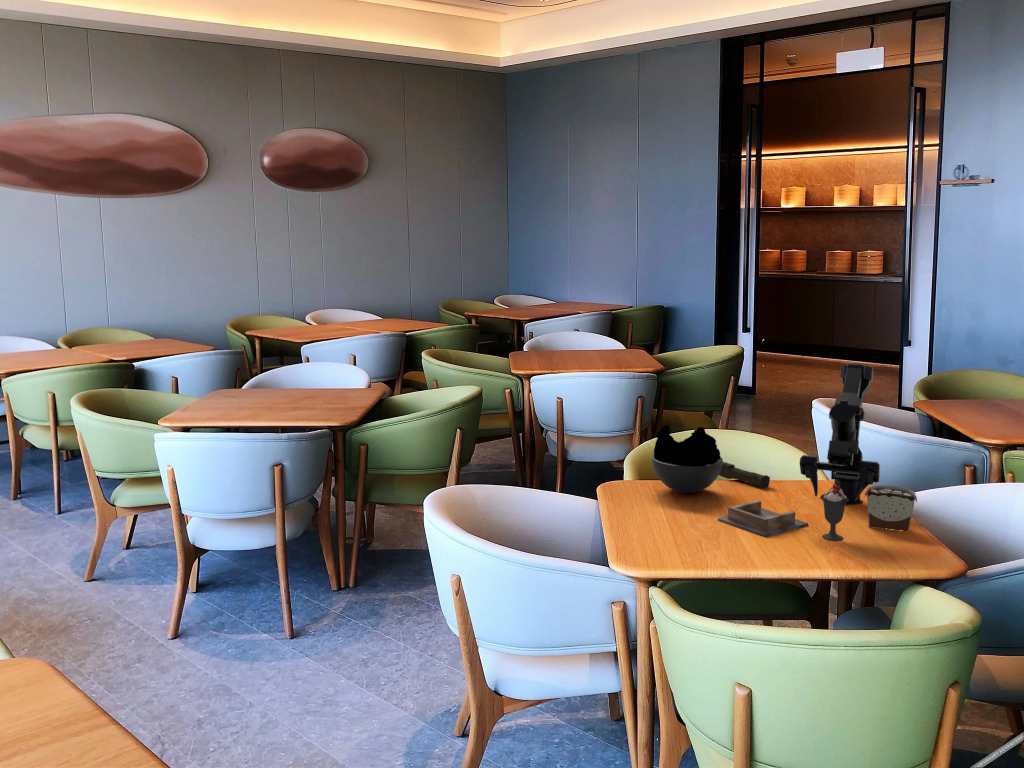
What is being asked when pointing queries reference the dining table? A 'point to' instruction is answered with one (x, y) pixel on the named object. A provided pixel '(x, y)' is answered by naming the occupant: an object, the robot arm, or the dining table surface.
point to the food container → (890, 507)
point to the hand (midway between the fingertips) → (835, 497)
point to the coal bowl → (686, 461)
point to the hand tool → (744, 475)
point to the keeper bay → (761, 519)
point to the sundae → (834, 510)
